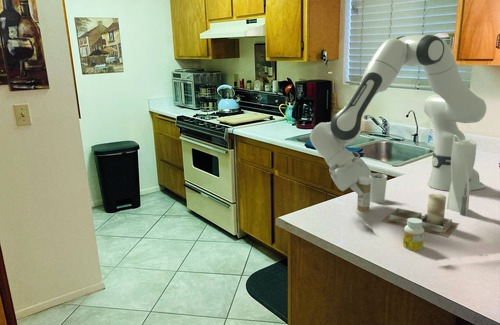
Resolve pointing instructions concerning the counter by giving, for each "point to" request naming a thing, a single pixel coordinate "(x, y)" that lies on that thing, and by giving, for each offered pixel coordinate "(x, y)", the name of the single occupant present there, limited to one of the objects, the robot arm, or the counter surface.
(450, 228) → the brown holder tray
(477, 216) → the counter surface
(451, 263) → the counter surface
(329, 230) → the counter surface
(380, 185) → the white and black cylinder
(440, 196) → the birch pin
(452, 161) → the skyscraper
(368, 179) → the sprinkles bottle
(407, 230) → the supplement bottle
